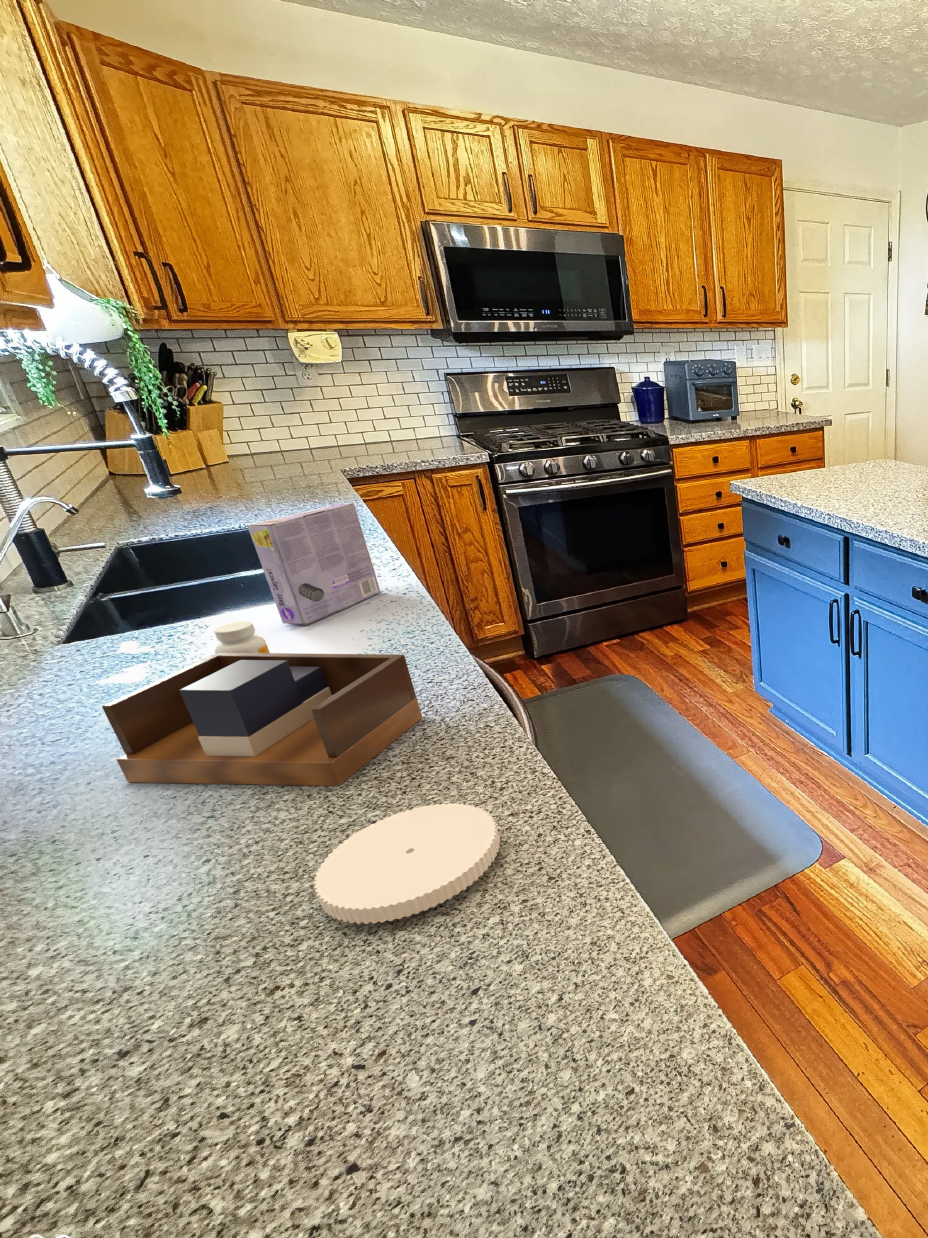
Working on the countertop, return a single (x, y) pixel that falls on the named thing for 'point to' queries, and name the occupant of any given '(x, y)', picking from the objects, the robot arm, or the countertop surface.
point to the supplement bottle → (239, 639)
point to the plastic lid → (407, 863)
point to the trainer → (253, 705)
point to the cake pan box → (315, 562)
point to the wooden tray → (311, 755)
